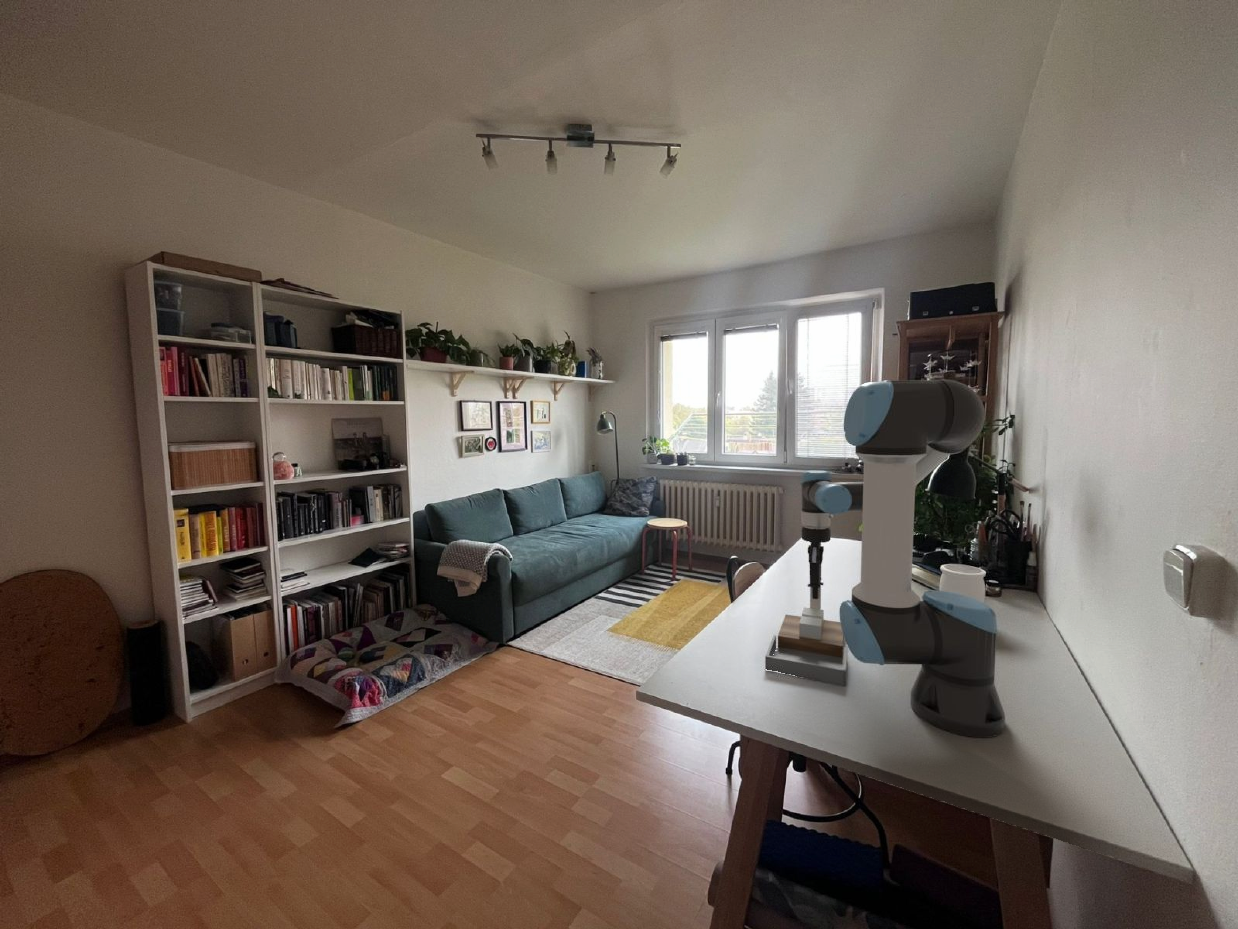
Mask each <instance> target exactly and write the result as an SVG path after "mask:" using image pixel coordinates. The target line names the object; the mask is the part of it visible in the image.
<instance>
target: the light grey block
mask: <svg viewBox="0 0 1238 929" xmlns="http://www.w3.org/2000/svg"><path fill="white" fill-rule="evenodd" d="M800 617H801V619H800V623H799V637H805V638H811V639H818V640H821V635H822V619H819V618H812V617H805V616H802V615H801V616H800Z"/></svg>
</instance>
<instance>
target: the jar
mask: <svg viewBox="0 0 1238 929" xmlns="http://www.w3.org/2000/svg"><path fill="white" fill-rule="evenodd" d="M939 569H940V571H941V572H942V574H940V579H939V580H940V581H939V591H946V592H951V593H956V594H960V595H964V596H967V597H970V598H973V599H976V600H978V601H981V602H983V603H984V604H985V598H986V585H985V579H984V577H986V573H987V572H986V571H985V570H984V569H982V568H979V567H975V566H971V565H967V564H959V563H948V564H942V565H940V568H939Z"/></svg>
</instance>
